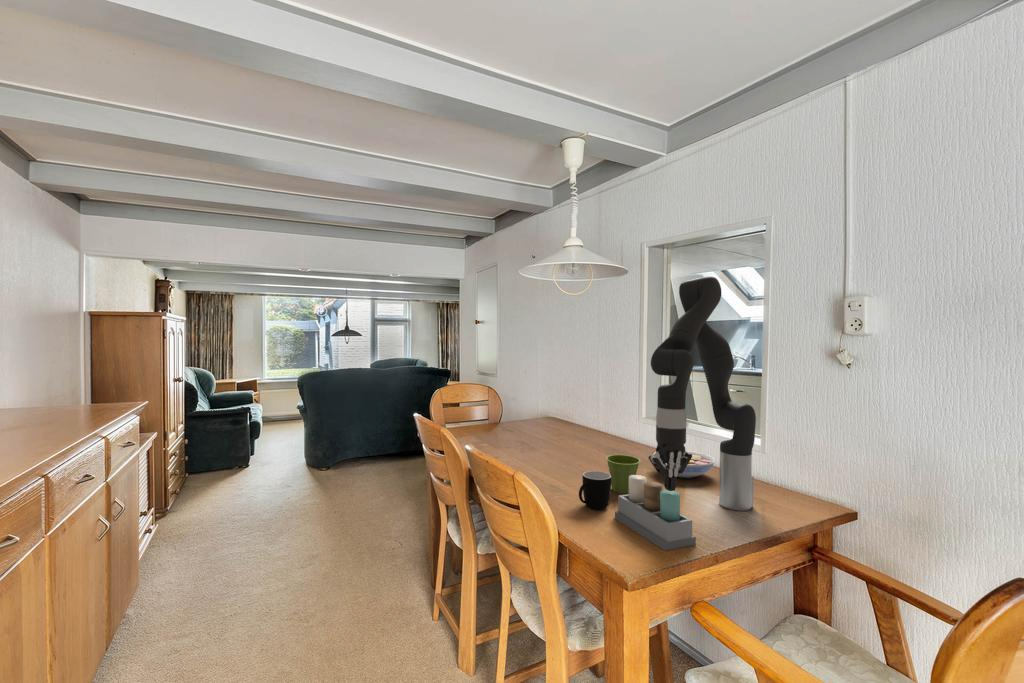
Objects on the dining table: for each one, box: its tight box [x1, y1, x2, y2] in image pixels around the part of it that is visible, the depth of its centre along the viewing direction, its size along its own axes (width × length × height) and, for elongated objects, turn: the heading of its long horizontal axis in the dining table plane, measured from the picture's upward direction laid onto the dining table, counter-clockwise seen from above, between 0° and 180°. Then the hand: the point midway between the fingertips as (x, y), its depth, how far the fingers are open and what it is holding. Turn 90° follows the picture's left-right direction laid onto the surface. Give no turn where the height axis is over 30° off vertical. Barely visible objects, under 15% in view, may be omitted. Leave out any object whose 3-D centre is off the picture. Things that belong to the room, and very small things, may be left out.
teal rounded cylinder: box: [660, 489, 681, 522], centre depth 119 cm, size 5×5×6 cm
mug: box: [578, 470, 612, 511], centre depth 142 cm, size 12×9×10 cm
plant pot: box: [605, 454, 641, 495], centre depth 158 cm, size 12×12×11 cm
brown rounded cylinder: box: [644, 481, 664, 512], centre depth 126 cm, size 5×5×6 cm
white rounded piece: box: [629, 474, 647, 503], centre depth 133 cm, size 5×5×6 cm
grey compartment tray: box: [614, 493, 697, 552], centre depth 126 cm, size 10×22×6 cm, turn 21°
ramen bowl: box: [652, 449, 716, 479], centre depth 176 cm, size 25×23×8 cm
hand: (670, 489), depth 119 cm, fingers closed
